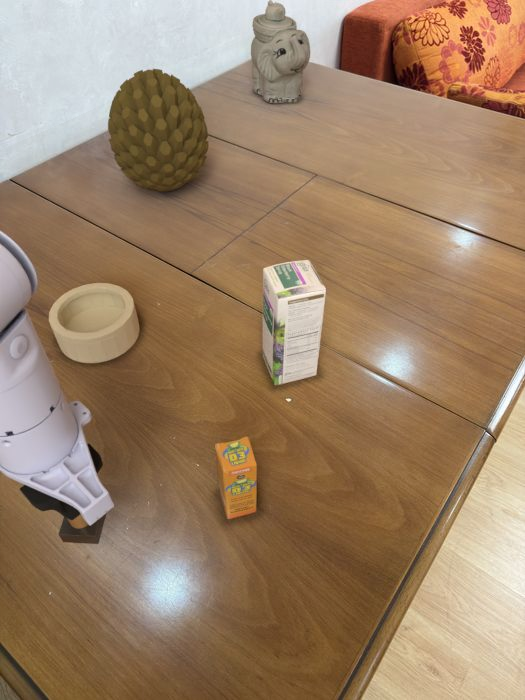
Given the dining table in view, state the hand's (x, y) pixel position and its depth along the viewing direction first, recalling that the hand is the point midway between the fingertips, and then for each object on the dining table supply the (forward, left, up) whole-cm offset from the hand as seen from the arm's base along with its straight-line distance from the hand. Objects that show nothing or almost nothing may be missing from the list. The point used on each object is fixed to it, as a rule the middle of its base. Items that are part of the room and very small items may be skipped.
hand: (71, 500), depth 45 cm
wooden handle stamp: (0, 0, -5) cm, 5 cm away
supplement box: (+11, +10, -10) cm, 18 cm away
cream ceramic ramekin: (-17, +25, -10) cm, 32 cm away
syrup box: (+9, +30, -10) cm, 33 cm away
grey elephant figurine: (-23, +108, -10) cm, 111 cm away
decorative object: (-28, +63, -10) cm, 70 cm away
